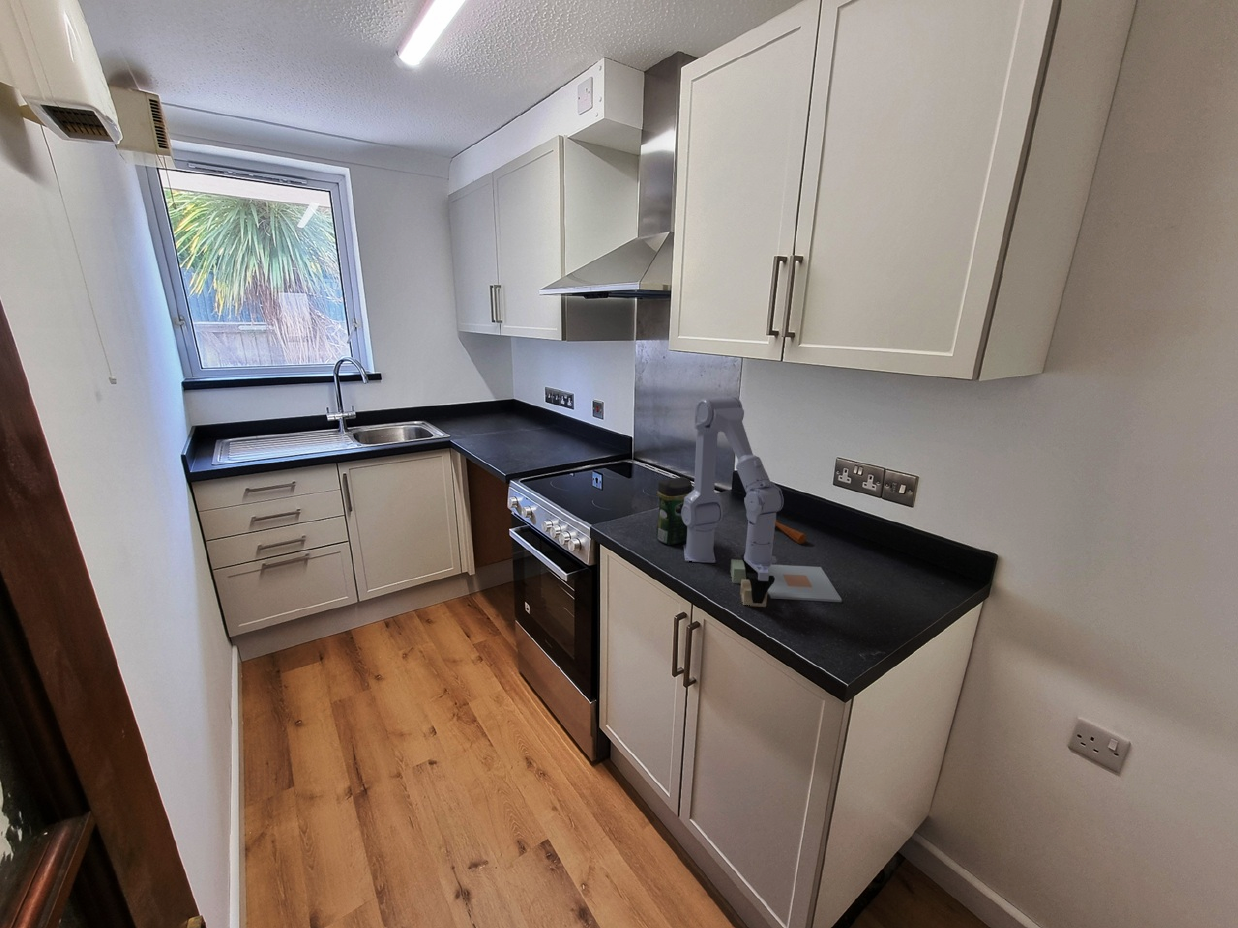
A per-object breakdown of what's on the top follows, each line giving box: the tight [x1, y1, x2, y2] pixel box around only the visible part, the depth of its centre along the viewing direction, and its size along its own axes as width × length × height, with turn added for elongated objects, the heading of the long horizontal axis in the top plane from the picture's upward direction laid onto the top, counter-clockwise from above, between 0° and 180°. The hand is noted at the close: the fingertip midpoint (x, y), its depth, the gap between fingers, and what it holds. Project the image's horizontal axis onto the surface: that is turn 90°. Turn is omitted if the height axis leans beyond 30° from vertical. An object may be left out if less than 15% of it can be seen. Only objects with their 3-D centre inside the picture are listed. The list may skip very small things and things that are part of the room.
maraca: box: [775, 519, 808, 545], centre depth 154 cm, size 6×6×20 cm
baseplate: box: [767, 564, 843, 603], centre depth 124 cm, size 16×16×1 cm
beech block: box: [739, 579, 768, 608], centre depth 116 cm, size 5×5×4 cm
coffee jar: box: [655, 476, 693, 546], centre depth 145 cm, size 10×8×19 cm
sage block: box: [729, 558, 746, 585], centre depth 126 cm, size 5×5×4 cm
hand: (754, 593), depth 116 cm, fingers open, 7 cm apart
